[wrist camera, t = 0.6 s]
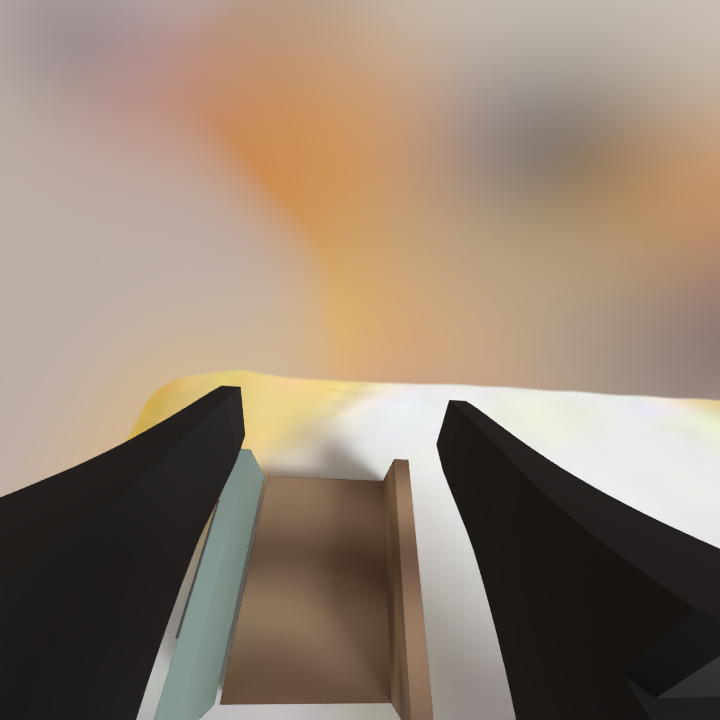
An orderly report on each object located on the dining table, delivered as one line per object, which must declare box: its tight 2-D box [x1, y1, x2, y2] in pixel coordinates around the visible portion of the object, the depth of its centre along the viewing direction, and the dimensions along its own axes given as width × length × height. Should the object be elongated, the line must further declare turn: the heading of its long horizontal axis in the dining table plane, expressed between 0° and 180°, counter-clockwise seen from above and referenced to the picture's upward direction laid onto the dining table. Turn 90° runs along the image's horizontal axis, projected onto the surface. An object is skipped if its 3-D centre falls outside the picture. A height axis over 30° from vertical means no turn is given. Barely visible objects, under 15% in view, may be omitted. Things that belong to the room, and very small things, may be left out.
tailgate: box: [154, 449, 264, 720], centre depth 17 cm, size 12×1×6 cm, turn 179°
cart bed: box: [220, 459, 433, 720], centre depth 18 cm, size 12×10×6 cm
